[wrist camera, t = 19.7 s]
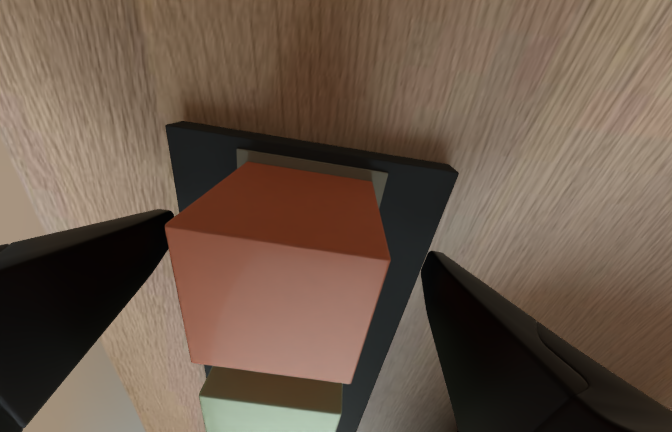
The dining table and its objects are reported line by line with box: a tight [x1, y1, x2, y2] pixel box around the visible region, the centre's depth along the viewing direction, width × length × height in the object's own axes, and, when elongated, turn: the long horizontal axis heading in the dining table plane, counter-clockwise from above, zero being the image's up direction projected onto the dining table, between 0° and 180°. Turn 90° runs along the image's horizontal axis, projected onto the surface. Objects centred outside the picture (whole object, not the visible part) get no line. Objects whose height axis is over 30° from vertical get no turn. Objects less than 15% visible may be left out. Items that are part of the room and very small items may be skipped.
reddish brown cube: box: [165, 162, 391, 384], centre depth 8 cm, size 4×4×4 cm
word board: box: [165, 121, 459, 432], centre depth 13 cm, size 10×26×5 cm, turn 171°
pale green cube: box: [199, 366, 343, 432], centre depth 11 cm, size 4×4×4 cm
